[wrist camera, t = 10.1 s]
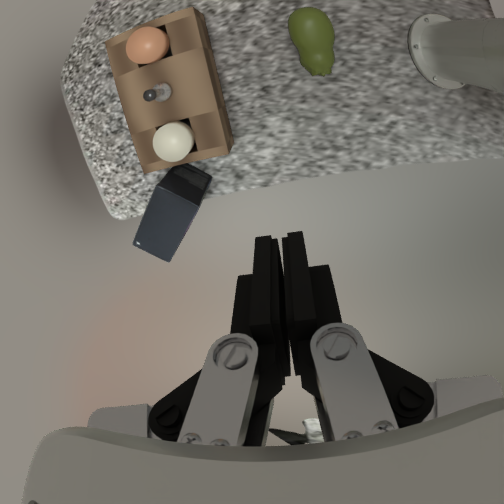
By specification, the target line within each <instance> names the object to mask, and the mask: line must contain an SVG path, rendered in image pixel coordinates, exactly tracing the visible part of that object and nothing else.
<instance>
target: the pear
mask: <svg viewBox="0 0 504 504" xmlns="http://www.w3.org/2000/svg"><path fill="white" fill-rule="evenodd" d="M288 28H289V33H290V36H291V39H292V41H293V43H294V45H295V46H296V47H297V49H298V51H299V54H300V63H301V65H302V66H303V67H305V69H306V70H307V71H309V72H310V73H311V74H312V76H314V75H317V74H318V75H320V76H323V75H324V76H325V74H330V73H332V72H331V67H332V66H333V63H334V51H333V44H334V39H335V35H334V29H333V26H332V24H331V21H330V20H329V18H328V16H327V15H326V14H325V13H324V12H323V11H321V10H319V9H317V8H313V7H304V8H300V9H297V10H295V11H294V12H293V13H292V14H291V15H290V17H289V20H288Z"/></svg>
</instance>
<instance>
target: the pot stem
mask: <svg viewBox="0 0 504 504" xmlns="http://www.w3.org/2000/svg"><path fill="white" fill-rule="evenodd" d="M171 95H172V87H171V86H170V85H169V84H168V83H158V84H156V85H155V86H154V87H153V89H149V90H146V91H145V92H144V94H143V98H144V100H145V101H147V102H150V101H153V100H156V101H159V102H162V101H165V100H168V99H169V98H170V97H171Z"/></svg>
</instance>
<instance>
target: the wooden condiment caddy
mask: <svg viewBox="0 0 504 504" xmlns="http://www.w3.org/2000/svg"><path fill="white" fill-rule="evenodd" d="M142 27H154V28H157V29H160V30H163V31H164V32H165V33H166V34H167V35H168V38H169V43H170V47H171V51H172V55H173V56H170V57H167V58H165V59H162V60H159V61H157V62H155V63H151V64H138V63H135V62H133V61H131V60H130V59H129V57H128V56H127V53H126V44H127V41H128V39H129V37H130V36H131V34H132V33H133V32H135V31H136V30H138V29H140V28H142ZM105 44H106V48H107V53H108V57H109V61H110V65H111V69H112V72H113V76H114V80H115V84H116V87H117V91H118V94H119V98H120V101H121V105H122V108H123V111H124V115H125V118H126V121H127V124H128V128H129V131H130V134H131V137H132V140H133V143H134V146H135V149H136V152H137V155H138V158H139V161H140V164H141V167H142V170H143V172H144V174H146V173H150V172H153V171H157V170H161V169H165V168H169V167H173V166H177V165H181V164H185V163H189V162H194V161H198V160H203V159H207V158H212V157H217V156H222V155H227V154H229V152H230V150H231V148H232V146H233V144H234V140H233V136H232V132H231V128H230V123H229V119H228V115H227V111H226V106H225V102H224V98H223V94H222V90H221V85H220V81H219V77H218V73H217V69H216V65H215V60H214V56H213V52H212V48H211V44H210V40H209V36H208V32H207V27H206V23H205V19H204V15H203V14H202V13H200V12H199V11H198V10H196V9H195V8H194V7H190V8H186V9H183V10H180V11H177V12H174V13H171V14H168V15H165V16H162V17H160V18H157V19H154V20H152V21H149V22H147V23H144V24H142V25H139V26H137V27H135V28H132V29H130V30H128V31H126V32H124V33H121V34H119V35H117V36H115V37H113V38H111V39H109V40H107V41H105ZM158 83H168V84H169V85H170V86H171V87H172V95H171V97H170V98H169V99H168V100H165V101H162V102H159V101H156V100H153V101H150V102H147V101H145V100H144V98H143V94H144V92H145V91H146V90H149V89H153V87H154V86H155V85H156V84H158ZM185 118H189V120H190V124H191V127H192V131H193V133H194V138H195V142H196V143H194V145H193V148H192V149H191V151H190V152H189V153H188V154H187V155H186V156H185V157H184V158H183V159H181V160H179V161H176V162H168V161H165V160H163V159H161V158H160V157H159V156H158V155H157V154H156V152H155V151H154V148H153V137H154V135H155V133H156V131H157V130H158V129H159V128H161V127H162V126H164V125H165V124H167V123H169V122H172V121H178V120H181V119H185Z"/></svg>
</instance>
